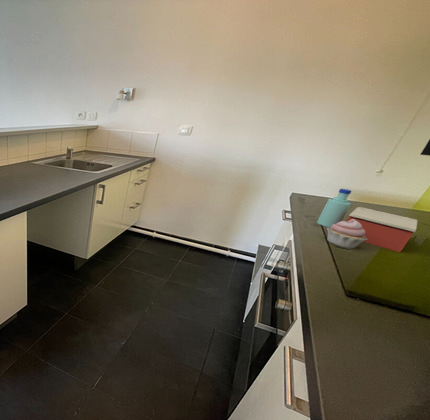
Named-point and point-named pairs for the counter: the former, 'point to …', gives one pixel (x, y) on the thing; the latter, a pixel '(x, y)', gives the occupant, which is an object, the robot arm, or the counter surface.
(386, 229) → the box
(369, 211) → the lid
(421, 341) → the counter surface
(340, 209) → the bottle
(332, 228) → the cupcake
